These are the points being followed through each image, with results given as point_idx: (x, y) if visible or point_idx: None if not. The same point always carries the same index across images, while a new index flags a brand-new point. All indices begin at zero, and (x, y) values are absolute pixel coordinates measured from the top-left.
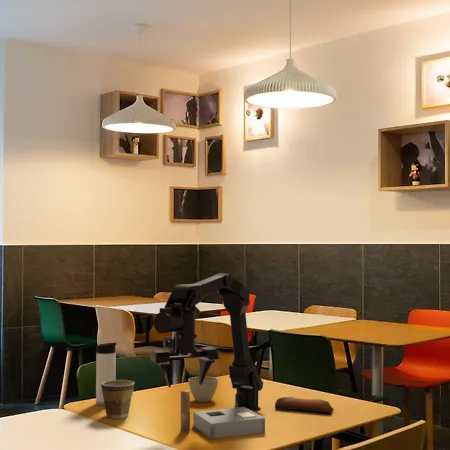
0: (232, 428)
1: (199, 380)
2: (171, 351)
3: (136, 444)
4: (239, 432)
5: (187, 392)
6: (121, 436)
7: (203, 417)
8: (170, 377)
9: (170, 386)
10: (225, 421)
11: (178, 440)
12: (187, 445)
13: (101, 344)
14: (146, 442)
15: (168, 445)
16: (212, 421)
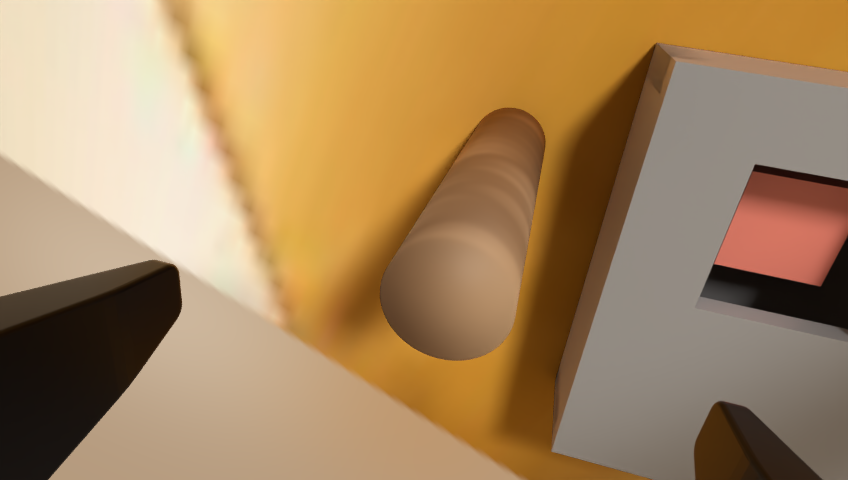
0: None
1: (726, 471)
2: None
3: (142, 225)
4: None
5: (446, 357)
6: (77, 20)
7: (616, 294)
8: (38, 476)
9: (170, 324)
10: (681, 471)
11: (370, 295)
12: (376, 388)
13: None
14: (197, 224)
15: (289, 333)
16: (597, 418)
